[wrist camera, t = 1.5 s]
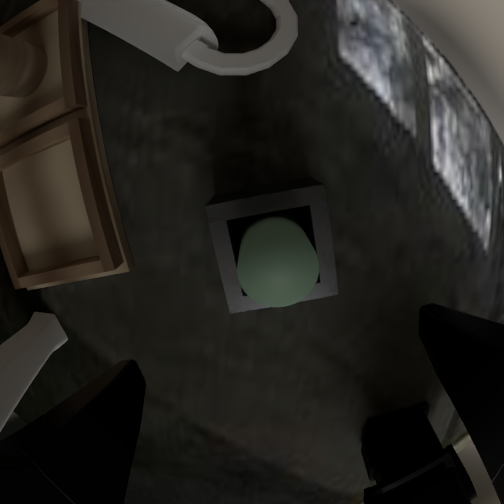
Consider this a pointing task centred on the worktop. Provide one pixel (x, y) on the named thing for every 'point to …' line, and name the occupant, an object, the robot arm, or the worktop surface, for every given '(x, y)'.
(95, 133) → the divided wooden tray
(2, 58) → the wooden billet
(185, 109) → the worktop surface
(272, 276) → the button
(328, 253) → the button housing
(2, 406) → the perfume bottle
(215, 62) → the oval loop handle
